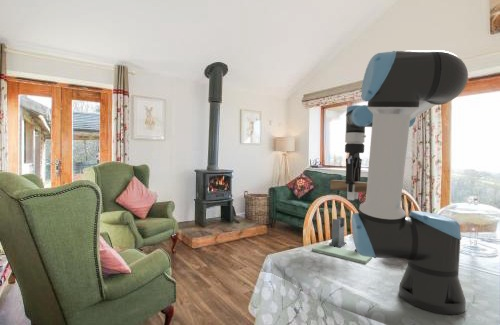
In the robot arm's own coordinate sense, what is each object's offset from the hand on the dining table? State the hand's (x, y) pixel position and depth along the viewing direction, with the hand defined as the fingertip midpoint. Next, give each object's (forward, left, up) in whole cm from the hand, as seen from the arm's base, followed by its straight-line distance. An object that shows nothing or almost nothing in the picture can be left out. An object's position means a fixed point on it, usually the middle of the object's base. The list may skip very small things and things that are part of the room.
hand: (352, 199), depth 120 cm
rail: (0, 0, +3) cm, 3 cm away
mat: (-11, 0, -21) cm, 23 cm away
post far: (0, +6, -21) cm, 21 cm away
